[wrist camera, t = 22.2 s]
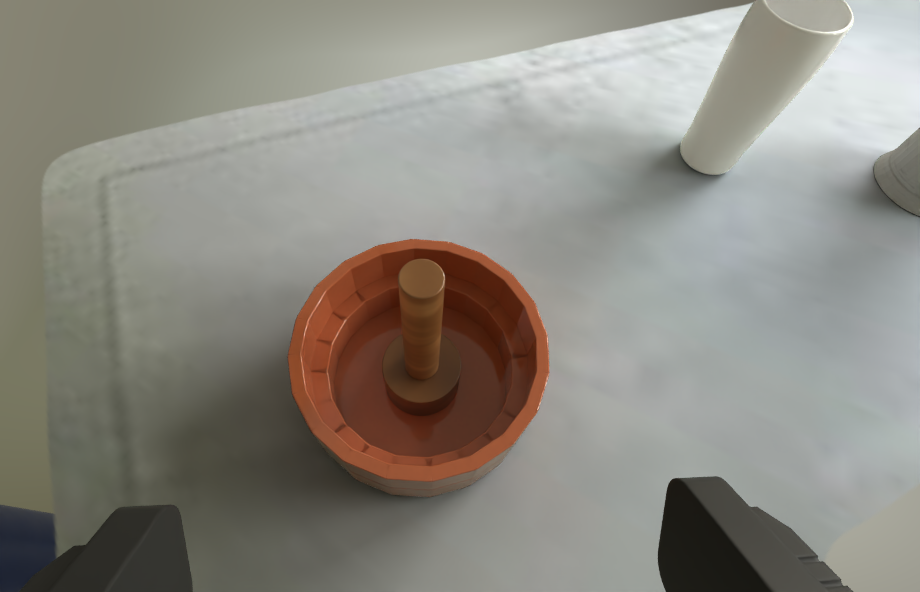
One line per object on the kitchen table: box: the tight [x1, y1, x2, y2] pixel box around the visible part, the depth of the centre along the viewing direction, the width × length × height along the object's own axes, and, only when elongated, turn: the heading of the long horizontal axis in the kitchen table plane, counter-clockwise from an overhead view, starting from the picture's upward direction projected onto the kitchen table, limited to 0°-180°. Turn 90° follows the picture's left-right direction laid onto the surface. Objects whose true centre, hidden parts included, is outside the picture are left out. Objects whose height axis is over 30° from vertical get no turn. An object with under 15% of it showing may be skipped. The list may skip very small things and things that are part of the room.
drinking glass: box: [680, 0, 854, 175], centre depth 43 cm, size 7×7×15 cm
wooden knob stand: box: [382, 259, 461, 416], centre depth 30 cm, size 5×5×14 cm
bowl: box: [288, 239, 549, 497], centre depth 34 cm, size 16×16×6 cm
